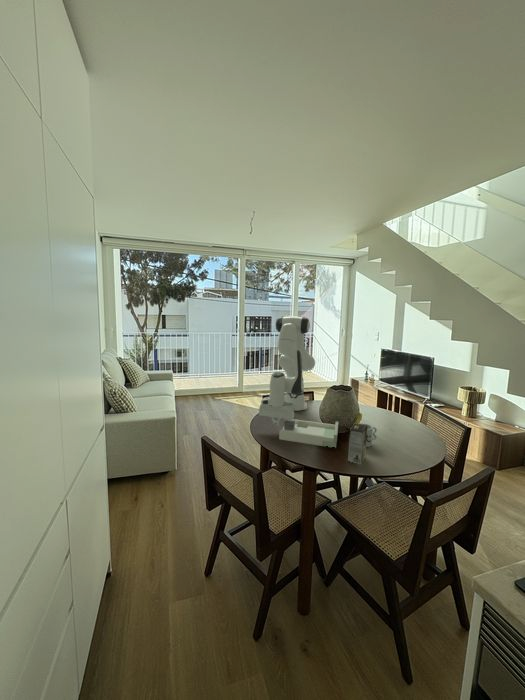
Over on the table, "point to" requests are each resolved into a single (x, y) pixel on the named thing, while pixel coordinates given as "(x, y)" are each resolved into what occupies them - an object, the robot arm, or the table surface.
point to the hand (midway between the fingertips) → (275, 424)
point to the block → (289, 424)
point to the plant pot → (358, 419)
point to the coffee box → (357, 443)
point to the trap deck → (311, 433)
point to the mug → (369, 434)
